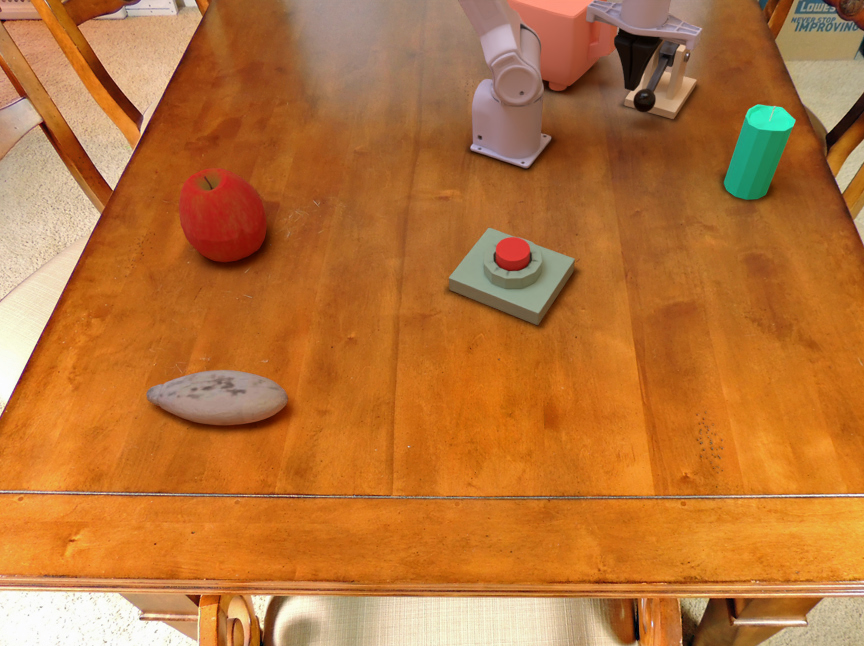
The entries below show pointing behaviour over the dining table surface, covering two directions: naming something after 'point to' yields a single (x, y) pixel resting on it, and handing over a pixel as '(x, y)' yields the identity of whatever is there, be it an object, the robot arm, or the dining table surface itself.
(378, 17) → the dining table surface
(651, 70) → the bracket
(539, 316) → the button block
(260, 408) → the decorative stone
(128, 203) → the dining table surface
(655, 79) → the lever
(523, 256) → the button
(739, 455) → the dining table surface
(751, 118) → the candle
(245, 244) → the apple
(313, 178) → the dining table surface
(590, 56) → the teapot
